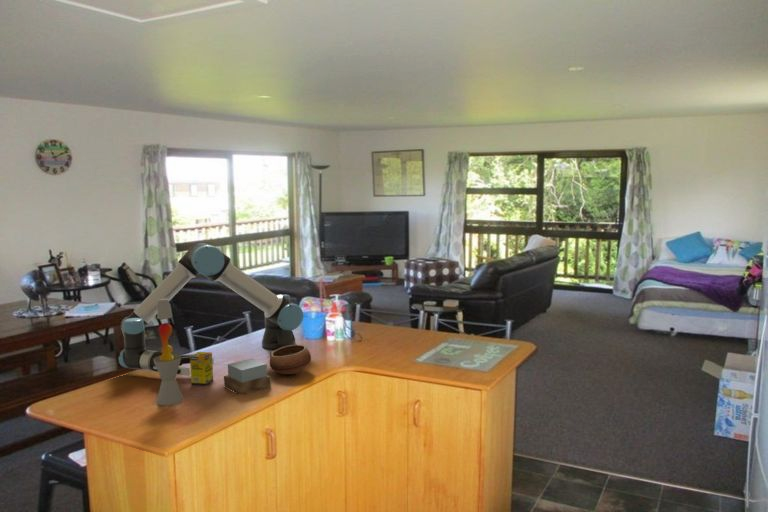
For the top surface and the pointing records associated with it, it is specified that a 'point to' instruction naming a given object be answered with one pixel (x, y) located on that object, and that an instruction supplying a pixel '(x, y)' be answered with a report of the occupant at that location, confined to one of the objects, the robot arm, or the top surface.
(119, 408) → the top surface
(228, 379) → the tower base slab
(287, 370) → the bowl
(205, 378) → the supplement box
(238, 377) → the tower top block
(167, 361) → the lava lamp
